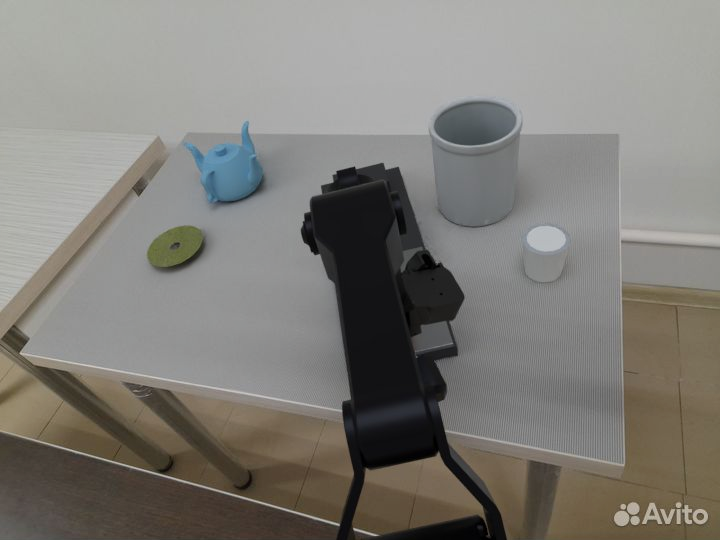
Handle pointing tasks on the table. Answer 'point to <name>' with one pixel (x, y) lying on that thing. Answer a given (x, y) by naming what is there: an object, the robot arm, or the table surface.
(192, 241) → the mat
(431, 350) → the scale
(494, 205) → the utensil holder
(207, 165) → the teapot
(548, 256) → the shot glass
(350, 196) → the robot arm
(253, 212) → the table surface
